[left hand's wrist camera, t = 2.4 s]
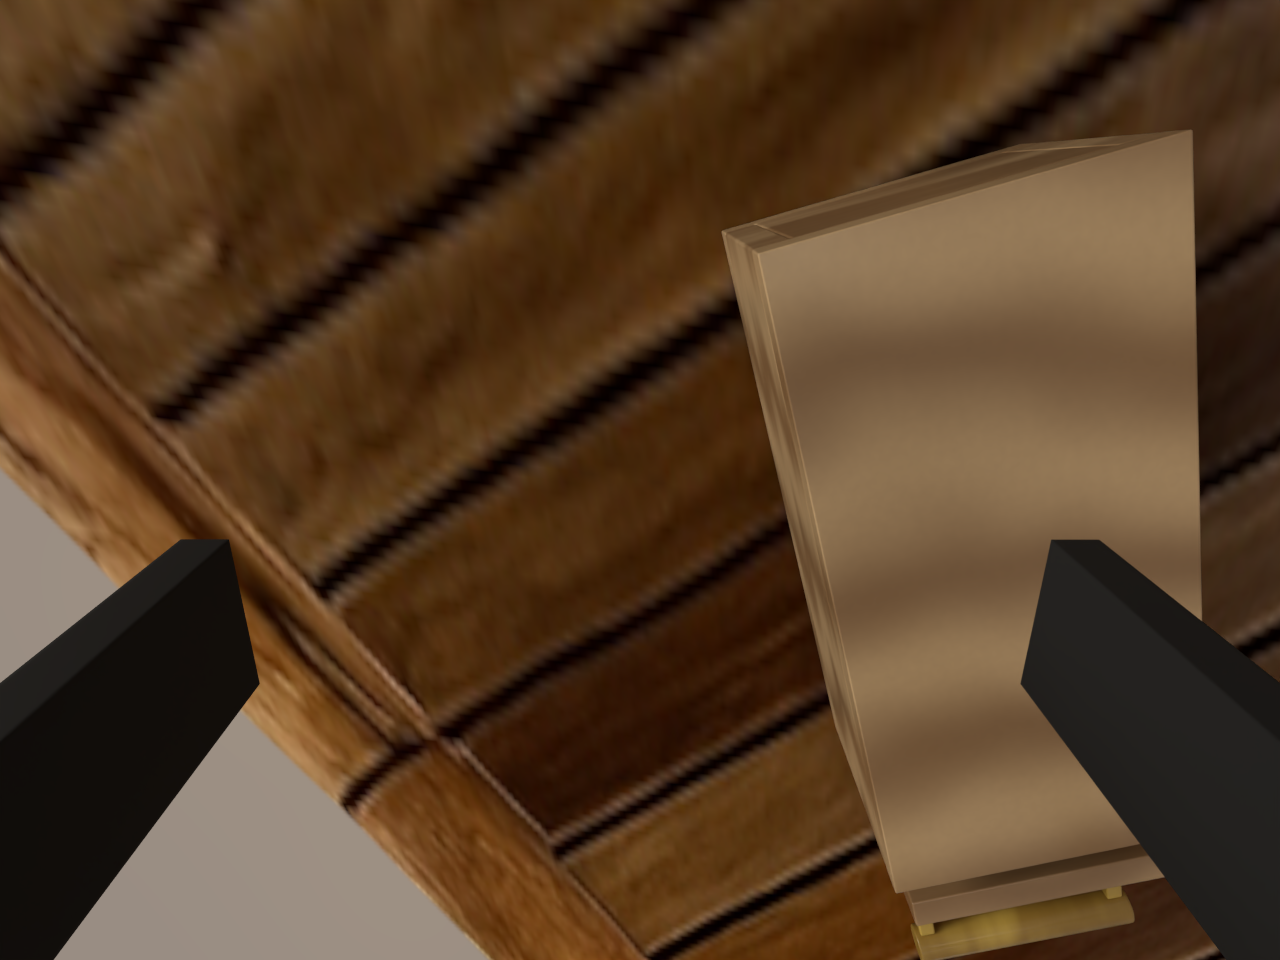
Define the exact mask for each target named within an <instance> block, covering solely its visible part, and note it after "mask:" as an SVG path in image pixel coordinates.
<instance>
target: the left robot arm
mask: <svg viewBox="0 0 1280 960" xmlns="http://www.w3.org/2000/svg"><path fill="white" fill-rule="evenodd" d="M259 684H260V683H259V678H258V674H257V669H256V664H255V660H254V655H253V650H252V646H251V641H250V636H249V632H248V627H247V622H246V618H245V613H244V608H243V604H242V599H241V594H240V590H239V585H238V580H237V576H236V571H235V566H234V562H233V557H232V552H231V548H230V543H229V540H180V541H178V542H177V543H176V544H175V545H173V546H172V547H171V548H170V549H168V550H167V551H166V552H164V553H163V554H162V555H161V556H159V557H158V558H157V559H156V560H154V561H153V562H152V563H151V564H149V565H148V566H147V567H146V568H144V569H143V570H142V571H141V572H139V573H138V574H137V575H136V576H134V577H133V578H132V579H131V580H129V581H128V582H127V583H125V584H124V585H123V586H122V587H120V588H119V589H118V590H117V591H115V592H114V593H113V594H112V595H110V596H109V597H108V598H107V599H105V600H104V601H103V602H102V603H100V604H99V605H98V606H97V607H95V608H94V609H93V610H92V611H90V612H89V613H88V614H87V615H85V616H84V617H83V618H82V619H80V620H79V621H78V622H76V623H75V624H74V625H73V626H71V627H70V628H69V629H68V630H66V631H65V632H64V633H63V634H61V635H60V636H59V637H58V638H56V639H55V640H54V641H53V642H51V643H50V644H49V645H48V646H46V647H45V648H44V649H43V650H41V651H40V652H39V653H37V654H36V655H35V656H34V657H32V658H31V659H30V660H29V661H27V662H26V663H25V664H24V665H22V666H21V667H20V668H19V669H17V670H16V671H15V672H14V673H12V674H11V675H10V676H9V677H7V678H6V679H5V680H3V681H2V682H1V683H0V960H54V958H55V957H56V956H57V954H58V953H59V952H60V950H61V949H62V948H63V946H64V945H65V944H66V942H67V941H68V940H69V938H70V937H71V936H72V934H73V933H74V932H75V930H76V929H77V928H78V926H79V925H80V924H81V922H82V921H83V920H84V918H85V917H86V916H87V914H88V913H89V912H90V910H91V909H92V908H93V906H94V905H95V904H96V902H97V901H98V900H99V898H100V897H101V896H102V894H103V893H104V892H105V890H106V889H107V888H108V886H109V885H110V883H111V882H112V881H113V879H114V878H115V877H116V875H117V874H118V873H119V871H120V870H121V869H122V867H123V866H124V865H125V863H126V862H127V861H128V859H129V858H130V857H131V855H132V854H133V853H134V851H135V850H136V849H137V847H138V846H139V845H140V843H141V842H142V841H143V839H144V838H145V837H146V835H147V834H148V833H149V831H150V830H151V829H152V827H153V826H154V825H155V823H156V822H157V820H158V819H159V818H160V817H161V815H162V814H163V813H164V811H165V810H166V809H167V807H168V806H169V804H170V803H171V802H172V800H173V799H174V798H175V796H176V795H177V794H178V792H179V791H180V790H181V788H182V787H183V786H184V784H185V783H186V782H187V780H188V779H189V778H190V776H191V775H192V774H193V772H194V771H195V770H196V768H197V767H198V766H199V764H200V763H201V762H202V760H203V759H204V758H205V756H206V755H207V754H208V752H209V751H210V750H211V748H212V747H213V746H214V744H215V743H216V742H217V740H218V739H219V738H220V736H221V735H222V734H223V732H224V731H225V730H226V728H227V727H228V725H229V724H230V723H231V721H232V720H233V719H234V717H235V716H236V715H237V713H238V712H239V711H240V709H241V708H242V707H243V705H244V704H245V703H246V701H247V700H248V699H249V697H250V696H251V695H252V693H253V692H254V691H255V689H256V688H257V687H258V685H259ZM1020 684H1021V685H1022V687H1023V688H1024V689H1025V691H1026V692H1027V693H1028V695H1029V696H1030V697H1031V699H1032V700H1033V701H1034V703H1035V704H1036V705H1037V707H1038V708H1039V709H1040V711H1041V712H1042V713H1043V715H1044V716H1045V717H1046V719H1047V720H1048V722H1049V723H1050V724H1051V726H1052V727H1053V728H1054V730H1055V731H1056V732H1057V734H1058V735H1059V736H1060V738H1061V739H1062V740H1063V742H1064V743H1065V744H1066V746H1067V747H1068V748H1069V750H1070V751H1071V752H1072V754H1073V755H1074V756H1075V758H1076V759H1077V760H1078V762H1079V763H1080V764H1081V766H1082V767H1083V768H1084V770H1085V771H1086V772H1087V774H1088V775H1089V776H1090V778H1091V779H1092V780H1093V782H1094V783H1095V784H1096V786H1097V787H1098V788H1099V790H1100V791H1101V792H1102V794H1103V795H1104V796H1105V798H1106V799H1107V801H1108V802H1109V803H1110V805H1111V806H1112V807H1113V809H1114V810H1115V811H1116V813H1117V814H1118V815H1119V817H1120V818H1121V819H1122V821H1123V822H1124V823H1125V825H1126V826H1127V827H1128V829H1129V830H1130V831H1131V833H1132V834H1133V835H1134V837H1135V838H1136V839H1137V841H1138V842H1139V843H1140V845H1141V846H1142V847H1143V849H1144V850H1145V851H1146V853H1147V854H1148V855H1149V857H1150V858H1151V859H1152V861H1153V862H1154V863H1155V865H1156V866H1157V867H1158V869H1159V870H1160V871H1161V873H1162V874H1163V875H1164V877H1165V878H1166V880H1167V881H1168V882H1169V884H1170V885H1171V886H1172V888H1173V889H1174V890H1175V892H1176V893H1177V894H1178V896H1179V897H1180V898H1181V900H1182V901H1183V902H1184V904H1185V905H1186V906H1187V908H1188V909H1189V910H1190V912H1191V913H1192V914H1193V916H1194V917H1195V918H1196V920H1197V921H1198V922H1199V924H1200V925H1201V926H1202V928H1203V929H1204V930H1205V932H1206V933H1207V934H1208V936H1209V937H1210V938H1211V940H1212V941H1213V942H1214V944H1215V945H1216V946H1217V948H1218V949H1219V950H1220V952H1221V953H1222V955H1223V956H1224V957H1225V959H1226V960H1280V683H1279V682H1278V681H1277V680H1275V679H1274V678H1273V677H1271V676H1270V675H1269V674H1268V673H1266V672H1265V671H1264V670H1263V669H1261V668H1260V667H1259V666H1258V665H1256V664H1255V663H1254V662H1253V661H1251V660H1250V659H1249V658H1248V657H1246V656H1245V655H1244V654H1243V653H1241V652H1240V651H1239V650H1238V649H1236V648H1235V647H1234V646H1232V645H1231V644H1230V643H1229V642H1227V641H1226V640H1225V639H1224V638H1222V637H1221V636H1220V635H1219V634H1217V633H1216V632H1215V631H1214V630H1212V629H1211V628H1210V627H1209V626H1207V625H1206V624H1205V623H1204V622H1202V621H1201V620H1200V619H1199V618H1197V617H1196V616H1195V615H1193V614H1192V613H1191V612H1190V611H1188V610H1187V609H1186V608H1185V607H1183V606H1182V605H1181V604H1180V603H1178V602H1177V601H1176V600H1175V599H1173V598H1172V597H1171V596H1170V595H1168V594H1167V593H1166V592H1165V591H1163V590H1162V589H1161V588H1160V587H1158V586H1157V585H1156V584H1154V583H1153V582H1152V581H1151V580H1149V579H1148V578H1147V577H1146V576H1144V575H1143V574H1142V573H1141V572H1139V571H1138V570H1137V569H1136V568H1134V567H1133V566H1132V565H1131V564H1129V563H1128V562H1127V561H1126V560H1124V559H1123V558H1122V557H1121V556H1119V555H1118V554H1117V553H1116V552H1114V551H1113V550H1112V549H1110V548H1109V547H1108V546H1107V545H1105V544H1104V543H1103V542H1102V541H1100V540H1051V543H1050V548H1049V552H1048V557H1047V562H1046V566H1045V571H1044V576H1043V580H1042V585H1041V590H1040V594H1039V599H1038V604H1037V608H1036V613H1035V618H1034V622H1033V627H1032V632H1031V636H1030V641H1029V646H1028V650H1027V655H1026V660H1025V664H1024V669H1023V674H1022V678H1021V683H1020Z"/></svg>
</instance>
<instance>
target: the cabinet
mask: <svg viewBox="0 0 1280 960" xmlns="http://www.w3.org/2000/svg"><path fill="white" fill-rule="evenodd" d="M722 236H723V240H724V244H725V249H726V253H727V257H728V262H729V266H730V270H731V275H732V279H733V283H734V288H735V292H736V296H737V301H738V305H739V309H740V314H741V318H742V322H743V327H744V331H745V336H746V340H747V344H748V349H749V353H750V357H751V362H752V366H753V370H754V375H755V379H756V383H757V388H758V392H759V396H760V401H761V405H762V409H763V414H764V418H765V422H766V427H767V431H768V435H769V440H770V444H771V448H772V453H773V457H774V461H775V466H776V470H777V474H778V479H779V483H780V487H781V492H782V496H783V501H784V505H785V509H786V514H787V518H788V522H789V527H790V531H791V535H792V540H793V544H794V548H795V553H796V557H797V561H798V566H799V570H800V574H801V579H802V583H803V587H804V592H805V596H806V600H807V605H808V609H809V613H810V618H811V622H812V626H813V631H814V635H815V639H816V644H817V648H818V652H819V657H820V661H821V666H822V670H823V674H824V679H825V683H826V687H827V692H828V696H829V700H830V705H831V709H832V713H833V718H834V722H835V726H836V729H837V732H838V735H839V738H840V740H841V743H842V746H843V748H844V751H845V754H846V757H847V759H848V762H849V765H850V768H851V770H852V773H853V776H854V779H855V782H856V784H857V787H858V790H859V793H860V795H861V798H862V801H863V804H864V806H865V809H866V812H867V815H868V818H869V820H870V823H871V826H872V829H873V831H874V834H875V837H876V840H877V842H878V845H879V848H880V851H881V854H882V856H883V859H884V862H885V865H886V867H887V870H888V873H889V876H890V879H891V882H892V884H893V887H894V890H895V892H896V893H901V892H906V891H911V890H916V889H921V888H926V887H930V886H935V885H940V884H945V883H950V882H955V881H960V880H965V879H970V878H975V877H980V876H985V875H990V874H995V873H999V872H1004V871H1009V870H1014V869H1019V868H1024V867H1029V866H1034V865H1039V864H1044V863H1049V862H1054V861H1059V860H1064V859H1068V858H1073V857H1078V856H1083V855H1088V854H1093V853H1098V852H1103V851H1108V850H1113V849H1118V848H1123V847H1128V846H1133V845H1137V844H1140V843H1139V842H1138V841H1137V839H1136V838H1135V837H1134V835H1133V834H1132V833H1131V831H1130V830H1129V829H1128V827H1127V826H1126V825H1125V823H1124V822H1123V821H1122V819H1121V818H1120V817H1119V815H1118V814H1117V813H1116V811H1115V810H1114V809H1113V807H1112V806H1111V805H1110V803H1109V802H1108V801H1107V799H1106V798H1105V796H1104V795H1103V794H1102V792H1101V791H1100V790H1099V788H1098V787H1097V786H1096V784H1095V783H1094V782H1093V780H1092V779H1091V778H1090V776H1089V775H1088V774H1087V772H1086V771H1085V770H1084V768H1083V767H1082V766H1081V764H1080V763H1079V762H1078V760H1077V759H1076V758H1075V756H1074V755H1073V754H1072V752H1071V751H1070V750H1069V748H1068V747H1067V746H1066V744H1065V743H1064V742H1063V740H1062V739H1061V738H1060V736H1059V735H1058V734H1057V732H1056V731H1055V730H1054V728H1053V727H1052V726H1051V724H1050V723H1049V722H1048V720H1047V719H1046V717H1045V716H1044V715H1043V713H1042V712H1041V711H1040V709H1039V708H1038V707H1037V705H1036V704H1035V703H1034V701H1033V700H1032V699H1031V697H1030V696H1029V695H1028V693H1027V692H1026V691H1025V689H1024V688H1023V687H1022V685H1021V684H1020V683H1021V678H1022V674H1023V669H1024V664H1025V660H1026V655H1027V650H1028V646H1029V641H1030V636H1031V632H1032V627H1033V622H1034V618H1035V613H1036V608H1037V604H1038V599H1039V594H1040V590H1041V585H1042V580H1043V576H1044V571H1045V566H1046V562H1047V557H1048V552H1049V548H1050V543H1051V540H1100V541H1102V542H1103V543H1104V544H1105V545H1107V546H1108V547H1109V548H1110V549H1112V550H1113V551H1114V552H1116V553H1117V554H1118V555H1119V556H1121V557H1122V558H1123V559H1124V560H1126V561H1127V562H1128V563H1129V564H1131V565H1132V566H1133V567H1134V568H1136V569H1137V570H1138V571H1139V572H1141V573H1142V574H1143V575H1144V576H1146V577H1147V578H1148V579H1149V580H1151V581H1152V582H1153V583H1154V584H1156V585H1157V586H1158V587H1160V588H1161V589H1162V590H1163V591H1165V592H1166V593H1167V594H1168V595H1170V596H1171V597H1172V598H1173V599H1175V600H1176V601H1177V602H1178V603H1180V604H1181V605H1182V606H1183V607H1185V608H1186V609H1187V610H1188V611H1190V612H1191V613H1192V614H1193V615H1195V616H1196V617H1197V618H1199V619H1200V620H1201V621H1202V587H1201V535H1200V483H1199V431H1198V379H1197V326H1196V274H1195V222H1194V170H1193V131H1192V130H1179V131H1167V132H1161V133H1148V134H1136V135H1125V136H1113V137H1101V138H1089V139H1078V140H1066V141H1054V142H1043V143H1028V144H1019V145H1015V146H1012V147H1008V148H1005V149H1002V150H998V151H995V152H991V153H988V154H984V155H981V156H977V157H974V158H971V159H967V160H964V161H960V162H957V163H953V164H950V165H946V166H943V167H940V168H936V169H933V170H929V171H926V172H922V173H919V174H915V175H912V176H909V177H905V178H902V179H898V180H895V181H891V182H888V183H884V184H881V185H878V186H874V187H871V188H867V189H864V190H860V191H857V192H853V193H850V194H846V195H843V196H840V197H836V198H833V199H829V200H826V201H822V202H819V203H815V204H812V205H809V206H805V207H802V208H798V209H795V210H791V211H788V212H784V213H781V214H778V215H774V216H771V217H767V218H764V219H760V220H757V221H753V222H750V223H747V224H743V225H740V226H736V227H733V228H729V229H726V230H723V231H722Z"/></svg>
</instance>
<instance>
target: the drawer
mask: <svg viewBox="0 0 1280 960" xmlns="http://www.w3.org/2000/svg"><path fill="white" fill-rule="evenodd" d="M1163 877H1164V875H1163V874H1162V873H1161V871H1160V870H1159V869H1158V867H1157V866H1156V865H1155V863H1154V862H1153V861H1152V859H1151V858H1150V857H1149V855H1148V854H1147V853H1146V851H1145V850H1144V849H1143V847H1142V846H1141V845H1140V844H1137V845H1133V846H1128V847H1123V848H1118V849H1113V850H1108V851H1103V852H1098V853H1093V854H1088V855H1083V856H1078V857H1073V858H1068V859H1064V860H1059V861H1054V862H1049V863H1044V864H1039V865H1034V866H1029V867H1024V868H1019V869H1014V870H1009V871H1004V872H999V873H995V874H990V875H985V876H980V877H975V878H970V879H965V880H960V881H955V882H950V883H945V884H940V885H935V886H930V887H926V888H921V889H916V890H911V891H906V892H904V894H905V897H906V899H907V902H908V905H909V907H910V910H911V913H912V915H913V918H914V921H915V923H912V924H911V930H912V934H913V938H914V941H915V945H916V948H917V951H918V954H919V956H920V959H921V960H943V959H948V958H953V957H959V956H964V955H969V954H974V953H979V952H984V951H990V950H995V949H1000V948H1005V947H1010V946H1015V945H1020V944H1026V943H1031V942H1036V941H1041V940H1046V939H1051V938H1057V937H1062V936H1067V935H1072V934H1077V933H1082V932H1088V931H1093V930H1098V929H1103V928H1108V927H1113V926H1119V925H1124V924H1129V923H1133V922H1134V912H1133V909H1132V906H1131V904H1130V901H1129V899H1128V897H1127V895H1126V894H1125V892H1124V891H1123V889H1122V888H1121V886H1122V885H1127V884H1132V883H1138V882H1143V881H1148V880H1153V879H1158V878H1163Z"/></svg>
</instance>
